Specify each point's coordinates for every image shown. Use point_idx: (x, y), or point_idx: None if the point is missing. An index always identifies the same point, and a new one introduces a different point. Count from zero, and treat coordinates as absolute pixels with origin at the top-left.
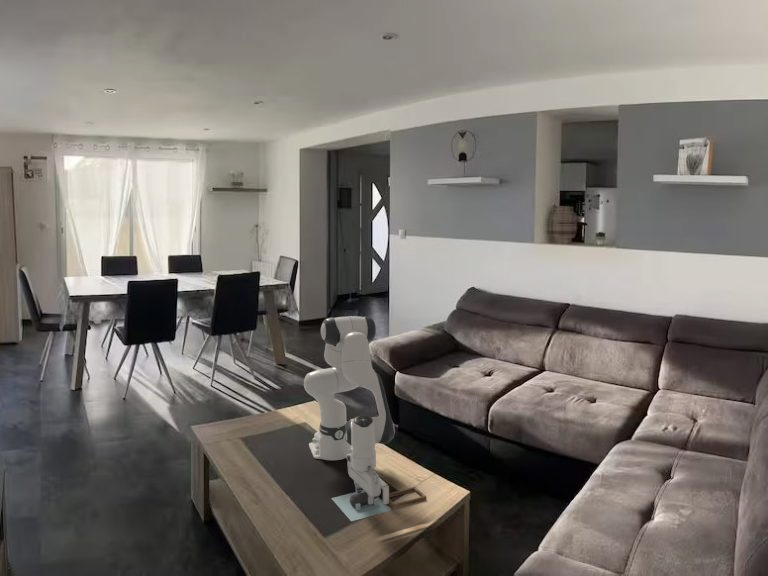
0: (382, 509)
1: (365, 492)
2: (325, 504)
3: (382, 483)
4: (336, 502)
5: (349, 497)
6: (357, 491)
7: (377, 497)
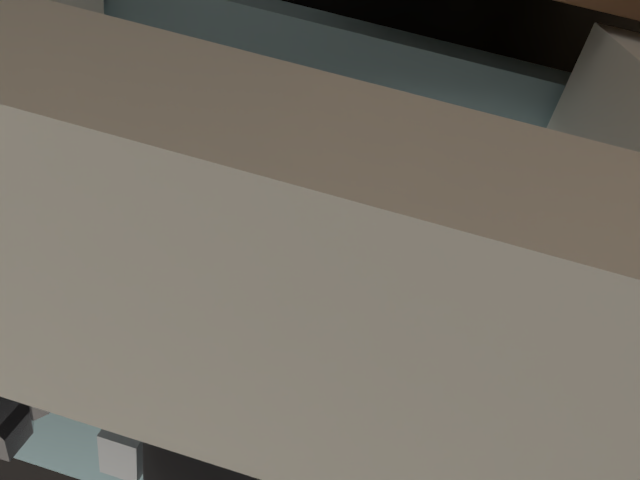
0: None
1: (200, 461)
2: (45, 470)
3: (429, 437)
4: (85, 472)
5: (112, 473)
6: (44, 415)
7: (240, 39)
